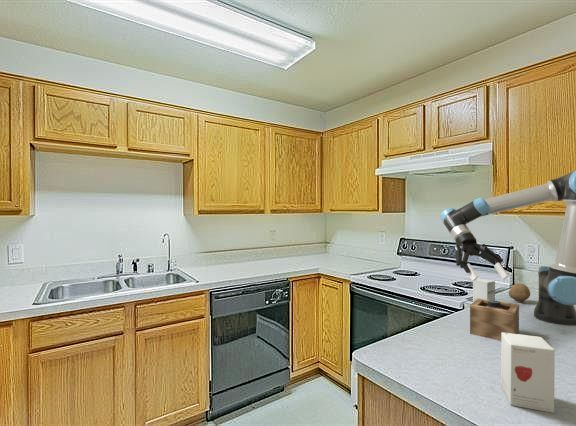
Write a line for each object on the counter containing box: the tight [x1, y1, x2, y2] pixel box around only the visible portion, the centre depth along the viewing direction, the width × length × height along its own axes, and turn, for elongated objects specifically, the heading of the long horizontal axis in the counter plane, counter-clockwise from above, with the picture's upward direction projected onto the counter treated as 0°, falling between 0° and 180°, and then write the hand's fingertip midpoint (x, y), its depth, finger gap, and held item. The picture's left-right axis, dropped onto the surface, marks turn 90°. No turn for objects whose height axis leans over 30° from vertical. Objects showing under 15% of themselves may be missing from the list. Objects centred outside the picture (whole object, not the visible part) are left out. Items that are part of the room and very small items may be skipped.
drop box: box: [469, 298, 520, 342], centre depth 125 cm, size 14×14×11 cm
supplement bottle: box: [486, 299, 503, 309], centre depth 125 cm, size 6×6×11 cm
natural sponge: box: [508, 282, 531, 303], centre depth 168 cm, size 9×9×10 cm
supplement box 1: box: [472, 278, 496, 303], centre depth 163 cm, size 7×7×13 cm
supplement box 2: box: [500, 332, 556, 414], centre depth 80 cm, size 9×9×15 cm
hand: (490, 278), depth 127 cm, fingers open, 13 cm apart
